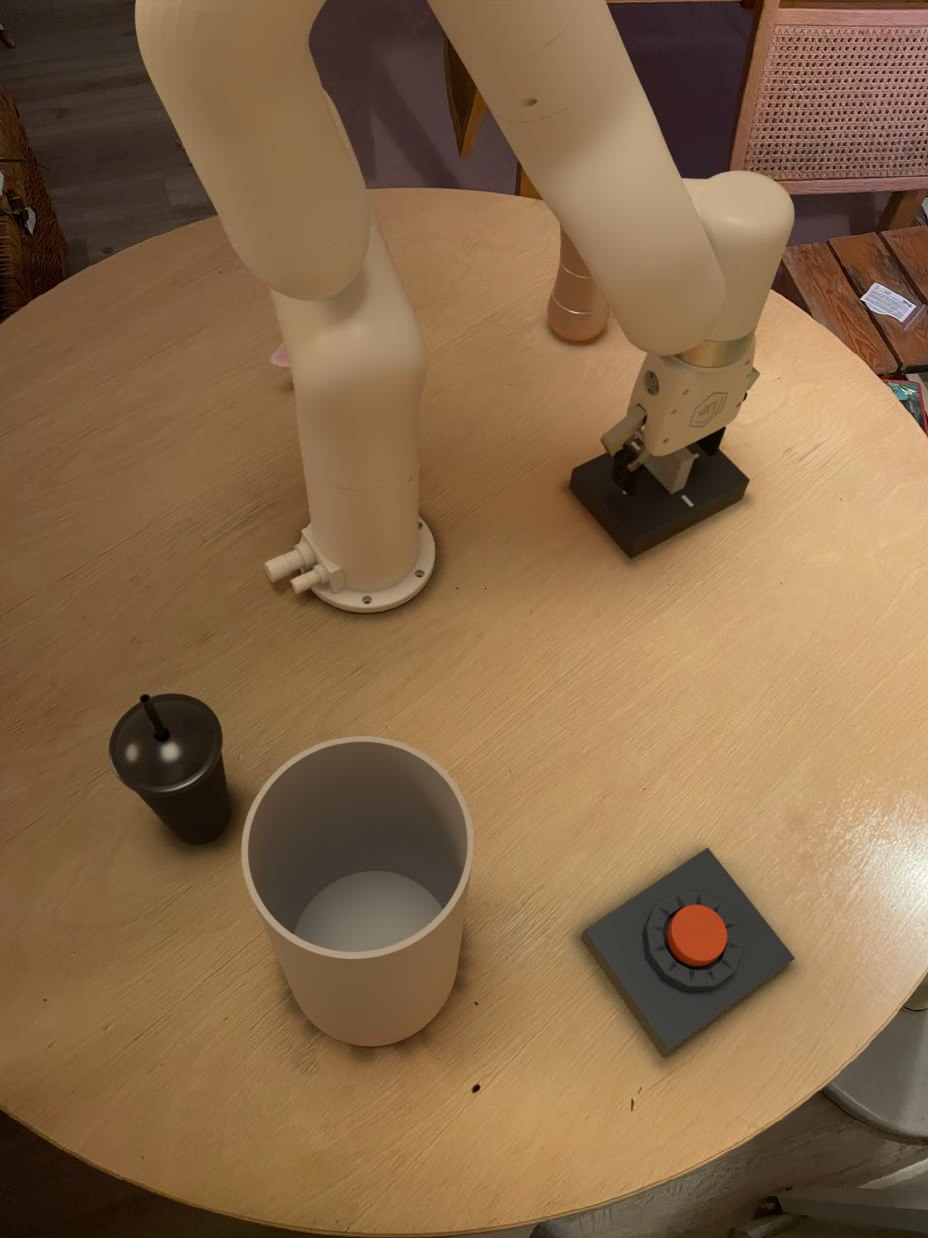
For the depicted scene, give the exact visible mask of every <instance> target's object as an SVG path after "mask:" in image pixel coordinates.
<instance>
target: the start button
mask: <svg viewBox="0 0 928 1238" xmlns="http://www.w3.org/2000/svg"><path fill="white" fill-rule="evenodd" d="M667 942H668V946H669V948H670V950H671V952H672V953H673V954H674V956H675V957H676V958H677V959H678V960H680V961H681V962H683V963H684V964H687V965H689V966H694V967H701V966H706V965H708V964H710V963H712V962H713V961H714V960H715V959H716V958H717V957H718V956H719V955H720V954H721V953H722V951H723V950H724V948H725V946H726V943H727V930H726V927H725V924H724V922H723V920H722V919H721V917H720V916H719V915H718V914H717V913H716V912H715V911H713V910H712V909H710V908H708V907H706V906H702V905H689V906H686V907H684V908H682V909H681V910H679V911H678V912H677V913H676V915H675V916H674V918H673V919H672V920H671V922H670V923H669V926H668V929H667Z"/></svg>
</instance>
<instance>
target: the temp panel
mask: <svg viewBox="0 0 928 1238" xmlns="http://www.w3.org/2000/svg"><path fill="white" fill-rule="evenodd" d="M642 445H643V443H642V442H641V441H640V440H639V439H638V438H637V437H635V438H634V439H633V441H632V442H631V443H630V444H629V445H628V447H629V448H630V449H631V450H632V451H633V452H634V453H635V454H636V452H637V451H638V450H639V449H640V448H641V447H642ZM685 447H686V448H687V449H688V450H689V451H690V452H691V453H692V454H693V455H694V460H693V463H692V466H691V469H690V472H689V475H688V478H687V481H686V484H685V487H684V488H683V489H681V490H679V491H677V492H675V493H673V494H671V493H670V492H669V491H668V490H667V489H666V488H665V487H664V486H663V485H662V484H661V483H660V482H659V480H658V479H657V478H656V477H655V476H654V475H653V474H652V473H651V472H650V471H649V470H648V469H647V468H646V466H645V465H644V464H643V463H642V465H643V467H644V471H643V475H642V478H641V482H640V485H639V489H638V492H637V494H636V495H635V496H633V497H630V496H629V495H628V494H627V493H626V492H625V491H624V490H623V489H622V488H619V487H618V486H617V485H616V484H615V482H614V480H613V477H612V469H613V465H614V461H615V460H614V459H613V458H612V457H611V456H610V455H609V454H608V453H607V452H606V451H605V452H604V453H602V454H600V455H598V456H596V457H593V458H592V459H590V460H588V461H586V462H584V463H582V464H580V465H577V466H575V467H573V468H572V470H571V474H570V480H569V485H568V490H569V491H570V492H571V493H572V494H573V496H575V498H576V499H577V500H578V501H579V502H580V503H581V505H582V506H583V507H584V508H585V509H586V511H587V512H588V513H589V514H590V515H591V516H592V517H593V518H594V519H595V521H596V522H597V523H598V524H599V525H600V526H601V527H602V528H603V530H604V531H605V532H606V533H607V535H609V537H610V538H611V539H613V541H614V542H615V543H616V545H618V547H619V549H621V550H622V552H624V554H625V555H626V556H627V557H628V558H629V559H630V560H631V559H633V558H635V557H637V556H639V555H641V554H643V553H644V552H646V551H648V550H650V549H652V548H654V547H656V546H658V545H659V544H661V543H664V542H665V541H667V540H669V539H671V538H672V537H674V536H676V535H678V534H680V533H682V532H683V531H685V530H687V529H690V528H691V527H693V526H694V525H697V524H698V523H700V522H702V521H704V520H706V519H708V518H710V517H712V516H713V515H715V514H718V513H719V512H720V511H722V510H725V509H726V508H728V507H730V506H733V505H734V504H736V503H738V502H740V501H741V500H742V499H743V498H744V495H745V493H746V490H747V488H748V486H749V483H750V481H751V479H750V478H749V477H748V476H747V475H746V474H745V473H744V472H743V471H742V470H741V469H740V468H739V467H738V466H737V465H736V464H735V463H734V462H733V461H732V460H731V459H730V458H729V457H728V456H727V455H726V454H725V453H724V452H723V451H722V450H721V449H720V448H719V449H718V451H717V454H715V455H713V456H708V455H707V454H706V453H705V452H704V451H703V450H702V449H701V448H700V447H699V446H698V445H697V444H696V443H695V442H694V443H692V444H689V445H687V446H685Z"/></svg>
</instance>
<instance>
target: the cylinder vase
mask: <svg viewBox="0 0 928 1238" xmlns="http://www.w3.org/2000/svg"><path fill="white" fill-rule="evenodd" d="M470 813H471V812H470V809H469V807H468V805H467V802H466V800H465V798H464V795H463V794H462V791H461V790H460V788H459V787H458V785H457V783H456V782H455V781H454V779H453V778H452V777H451V776H450V774H449V773H448V772H447V771H446V769H444V768H443V767H442V766H441V765H440V764H439V763H437V762H436V761H435V760H434V759H433V758H431V756H429V755H427V754H425V753H424V752H422V751H421V750H419V749H417V748H415V747H412V746H411V745H408V744H406V743H403V742H401V741H397V740H394V739H389V738H385V737H379V736H370V735H355V736H345V737H339V738H334V739H330V740H327V741H324V742H321V743H317V744H316V745H313V746H311V747H308V748H306V749H304V750H303V751H301V752H299V753H297V754H296V755H294V756H293V757H291V758H290V759H289V760H287V761H286V762H284V763H283V765H281V766H280V767H279V768H278V769H276V770H275V771H274V773H273V774H272V775H271V776H270V777H269V778H268V779H267V781H266V782H265V783H264V784H263V786H262V787H261V789H260V790H259V792H258V793H257V795H256V797H255V799H254V800H253V801H252V804H251V806H250V808H249V811H248V813H247V816H246V819H245V822H244V828H243V830H242V837H241V846H240V847H241V849H240V850H241V851H240V853H241V854H240V855H241V857H240V858H241V865H242V873H243V877H244V880H245V884H246V888H247V891H248V893H249V895H250V897H251V899H252V902H253V904H254V906H255V908H256V911H257V913H258V915H259V918H260V920H261V922H262V925H263V927H264V930H265V932H266V934H267V936H268V939H269V942H270V943H271V945H272V948H273V950H274V952H275V955H276V957H277V959H278V962H279V964H280V966H281V969H282V971H283V974H284V976H285V978H286V980H287V982H288V985H289V988H290V990H291V992H292V995H293V996H294V999H295V1001H296V1003H297V1005H298V1007H299V1008H300V1010H301V1011H302V1013H303V1014H304V1015H305V1017H306V1018H307V1019H308V1020H309V1021H310V1022H311V1024H312V1025H314V1026H315V1028H317V1029H318V1030H320V1031H321V1032H323V1033H324V1034H326V1035H328V1036H329V1037H331V1038H332V1039H335V1040H337V1041H339V1042H342V1043H345V1044H348V1045H353V1046H359V1047H380V1046H381V1047H382V1046H387V1045H391V1044H394V1043H398V1042H400V1041H403V1040H406V1039H408V1038H409V1037H411V1036H413V1035H415V1034H417V1033H418V1032H419V1031H421V1030H422V1029H423V1028H425V1027H426V1026H428V1024H429V1023H430V1022H431V1021H433V1020H434V1018H435V1017H436V1016H437V1015H438V1014H439V1012H440V1011H441V1010H442V1008H443V1007H444V1005H445V1004H446V1002H447V1001H448V999H449V997H450V994H451V992H452V989H453V987H454V983H455V980H456V977H457V972H458V966H459V958H460V952H461V946H462V945H461V943H462V937H463V930H464V923H465V916H466V909H467V904H468V903H467V902H468V896H469V888H470V881H471V874H472V867H473V859H474V851H475V835H474V827H473V820H472V816H471V814H470Z"/></svg>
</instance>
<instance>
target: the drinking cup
mask: <svg viewBox="0 0 928 1238" xmlns="http://www.w3.org/2000/svg"><path fill="white" fill-rule="evenodd" d="M223 744H224V734H223V728H222V726H221V722H220V720H219V718H218V716H217V714H216V713H215V712H214V711H213V709H212V708H211V707H210V706H209V705H208V704H207V703H205V702H203V701H202V700H200V699H199V698H196V697H194V696H190V695H188V694H184V693H177V692H176V693H174V692H172V693H161V694H157V695H153V696H150V695H149V694H147V693H144V694H141V695H140V696H139V702H137V703H136V704H135V705H133V706H132V707H130V708H129V709H128V710H126V712H125V713H124V714H123V715H122V716H121V718H119V720H118V721H117V723H116V724H115V726H114V728H113V731H112V732H111V735H110V739H109V743H108V759H109V763H110V767H111V768H112V771H113V773H114V774H115V776H116V778H117V779H118V780H119V782H121V783H122V785H124V786H125V787H127V788H129V789H130V790H132V791H133V792H135V793H136V794H137V795H138V796H139V797H140V799H141V800H142V801H143V802H144V803H145V804H146V805H147V806H148V807H149V808H150V809H151V810H152V812H153V813H154V814H155V815H156V816H157V817H158V818H159V819H160V820H161V822H162V823H163V824H164V825H165V826H166V827H167V829H169V830H170V832H171V833H172V834H173V835H174V836H175V837H176V838H177V839H178V840H180V841H181V842H183V843H185V844H189V845H204V844H208V843H211V842H212V841H214V840H216V839H217V838H218V837H220V836H222V834H223V833H224V832H225V830H226V829H227V827H228V825H229V823H230V820H231V815H232V810H231V804H230V797H229V789H228V784H227V778H226V777H227V776H226V772H225V765H224V758H223Z"/></svg>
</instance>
